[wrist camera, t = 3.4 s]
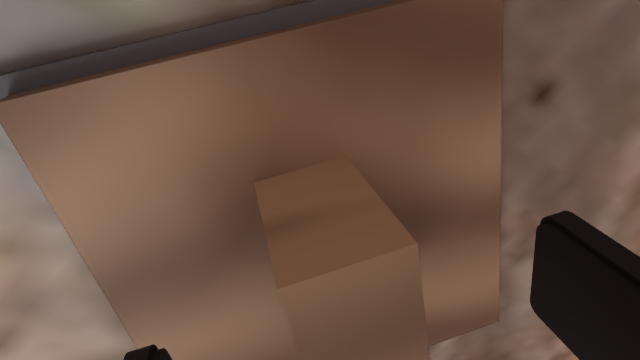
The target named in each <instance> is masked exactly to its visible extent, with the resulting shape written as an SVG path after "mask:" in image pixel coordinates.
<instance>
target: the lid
mask: <svg viewBox="0 0 640 360" xmlns="http://www.w3.org/2000/svg"><path fill="white" fill-rule="evenodd" d="M502 58H503V0H396V1H392V2H388V3H384V4H380V5H376V6H372V7H368V8H363V9H359V10H355V11H351V12H347V13H343V14H339V15H335V16H331V17H327V18H323V19H319V20H314V21H310V22H306V23H302V24H298V25H294V26H290V27H286V28H282V29H278V30H274V31H269V32H265V33H261V34H257V35H253V36H249V37H245V38H241V39H237V40H233V41H229V42H225V43H220V44H216V45H212V46H208V47H204V48H200V49H196V50H192V51H188V52H184V53H180V54H176V55H171V56H167V57H163V58H159V59H155V60H151V61H147V62H143V63H139V64H135V65H131V66H126V67H122V68H118V69H114V70H110V71H106V72H102V73H98V74H94V75H90V76H86V77H82V78H77V79H73V80H69V81H65V82H61V83H57V84H53V85H49V86H45V87H41V88H37V89H33V90H28V91H24V92H20V93H16V94H12V95H8V96H6V97H4V98H2V99H0V123H1V125H2V127H3V128H4V130H5V132H6V133H7V135H8V137H9V138H10V140H11V141H12V143H13V145H14V146H15V148H16V150H17V151H18V153H19V155H20V156H21V158H22V160H23V161H24V163H25V164H26V166H27V168H28V169H29V171H30V173H31V174H32V176H33V178H34V179H35V181H36V183H37V184H38V186H39V187H40V189H41V191H42V192H43V194H44V196H45V197H46V199H47V201H48V202H49V204H50V206H51V207H52V209H53V211H54V212H55V214H56V215H57V217H58V219H59V220H60V222H61V224H62V225H63V227H64V229H65V230H66V232H67V234H68V235H69V237H70V238H71V240H72V242H73V243H74V245H75V247H76V248H77V250H78V252H79V253H80V255H81V257H82V258H83V260H84V262H85V263H86V265H87V266H88V268H89V270H90V271H91V273H92V275H93V276H94V278H95V280H96V281H97V283H98V285H99V286H100V288H101V289H102V291H103V293H104V294H105V296H106V298H107V299H108V301H109V303H110V304H111V306H112V308H113V309H114V311H115V312H116V314H117V316H118V317H119V319H120V321H121V322H122V324H123V326H124V327H125V329H126V331H127V332H128V334H129V336H130V337H131V339H132V340H133V342H134V344H135V345H136V347H137V349H140V348H143V347H146V346H149V345H153V344H154V345H156V346H157V348H158V349H162V348H165V349H166V350H167V351H168V353H169V355H170V356H171V358H172V360H430V356H429V346H431V345H434V344H437V343H440V342H442V341H445V340H448V339H451V338H453V337H456V336H459V335H462V334H464V333H467V332H470V331H473V330H475V329H478V328H481V327H484V326H486V325H489V324H492V323H495V322H497V321H499V272H500V201H501V129H502Z"/></svg>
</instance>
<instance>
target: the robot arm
mask: <svg viewBox="0 0 640 360" xmlns="http://www.w3.org/2000/svg"><path fill="white" fill-rule="evenodd" d="M530 303H531V306H532V309H533V310H534V312H535V313H536V314H537V316H538V317H539V318H540V319H541V320H542V321H543V322H544V323H545V324H546V325H547V326H548V327H549V328H550V329H551V330H552V331H553V332H554V333H555V334H556V336H557V337H558V338H559V339H560V340H561V341H562V342H563V343H564V344H565V345H566V346H567V347H568V348H569V349H570V350H571V351H572V352H573V353H574V354H575V355H576V356H577V357H578V359H579V360H640V257H639V256H637V255H636V254H634V253H633V252H631V251H630V250H628V249H627V248H625V247H624V246H622V245H621V244H619V243H617V242H616V241H614V240H613V239H611V238H610V237H608V236H607V235H605V234H604V233H602V232H601V231H599V230H598V229H596V228H595V227H593V226H592V225H590V224H589V223H587V222H586V221H584V220H583V219H581V218H580V217H578V216H577V215H575V214H573V213H572V212H569V211H563V212H560V213H557V214H554V215H550V216H547V217H544V218H543V219H542V220H541V223H540V225H539V226H538V227H537V230H536V240H535V251H534V262H533V273H532V284H531V295H530ZM124 360H172V358H171V356H170V355H169V353H168V351H167V350H166V349H165V348H162V349H158V348H157V346H156V345H154V344H153V345H149V346H146V347H143V348H140V349H137V350H134V351H131V352H128V353H127V354H126V355H125V357H124Z"/></svg>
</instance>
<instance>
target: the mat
mask: <svg viewBox="0 0 640 360" xmlns="http://www.w3.org/2000/svg"><path fill="white" fill-rule="evenodd" d="M392 1H396V0H311V1H307V2H303V3H299V4H295V5H290V6H286V7H282V8H278V9H274V10H269V11H265V12H261V13H257V14H253V15H248V16H244V17H240V18H236V19H232V20H227V21H223V22H219V23H215V24H211V25H206V26H202V27H198V28H194V29H190V30H185V31H181V32H177V33H173V34H169V35H164V36H160V37H156V38H152V39H147V40H143V41H139V42H135V43H131V44H126V45H122V46H118V47H114V48H110V49H105V50H101V51H97V52H93V53H89V54H84V55H80V56H76V57H72V58H68V59H63V60H59V61H55V62H51V63H47V64H42V65H38V66H34V67H30V68H26V69H21V70H17V71H13V72H9V73H5V74H0V99H2V98H4V97H6V96H8V95H12V94H16V93H20V92H24V91H28V90H33V89H37V88H41V87H45V86H49V85H53V84H57V83H61V82H65V81H69V80H73V79H77V78H82V77H86V76H90V75H94V74H98V73H102V72H106V71H110V70H114V69H118V68H122V67H126V66H131V65H135V64H139V63H143V62H147V61H151V60H155V59H159V58H163V57H167V56H171V55H176V54H180V53H184V52H188V51H192V50H196V49H200V48H204V47H208V46H212V45H216V44H220V43H225V42H229V41H233V40H237V39H241V38H245V37H249V36H253V35H257V34H261V33H265V32H269V31H274V30H278V29H282V28H286V27H290V26H294V25H298V24H302V23H306V22H310V21H314V20H319V19H323V18H327V17H331V16H335V15H339V14H343V13H347V12H351V11H355V10H359V9H363V8H368V7H372V6H376V5H380V4H384V3H388V2H392Z"/></svg>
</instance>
